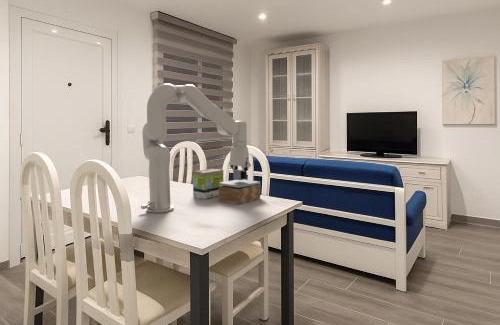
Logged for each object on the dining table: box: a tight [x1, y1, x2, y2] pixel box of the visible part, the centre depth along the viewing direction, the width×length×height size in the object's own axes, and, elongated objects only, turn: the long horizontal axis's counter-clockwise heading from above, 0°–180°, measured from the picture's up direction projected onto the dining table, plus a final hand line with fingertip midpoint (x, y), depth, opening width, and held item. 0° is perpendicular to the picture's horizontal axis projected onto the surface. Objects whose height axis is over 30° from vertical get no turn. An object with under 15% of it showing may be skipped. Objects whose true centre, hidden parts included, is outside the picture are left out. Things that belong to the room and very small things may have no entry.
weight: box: [232, 168, 248, 180], centre depth 186 cm, size 5×5×5 cm
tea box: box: [192, 168, 224, 200], centre depth 197 cm, size 15×10×15 cm, turn 143°
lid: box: [219, 179, 261, 188], centre depth 187 cm, size 18×14×1 cm
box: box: [218, 183, 261, 205], centre depth 188 cm, size 18×14×8 cm
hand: (239, 177), depth 187 cm, fingers closed on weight, 5 cm apart
